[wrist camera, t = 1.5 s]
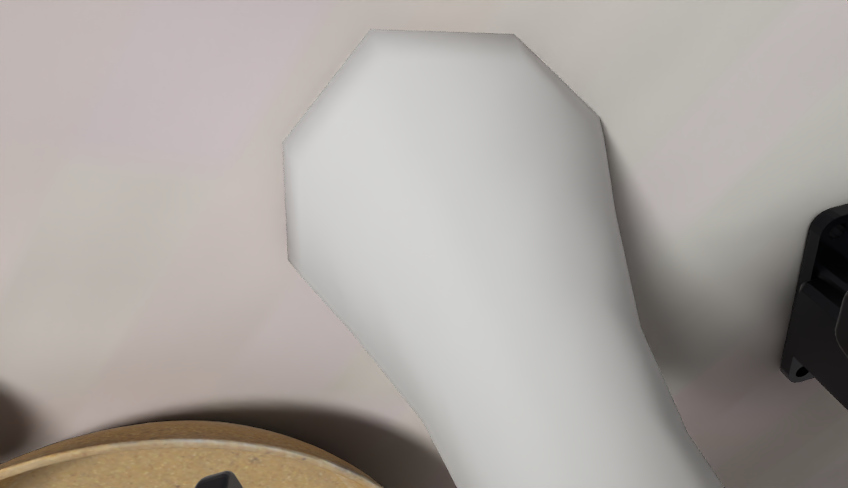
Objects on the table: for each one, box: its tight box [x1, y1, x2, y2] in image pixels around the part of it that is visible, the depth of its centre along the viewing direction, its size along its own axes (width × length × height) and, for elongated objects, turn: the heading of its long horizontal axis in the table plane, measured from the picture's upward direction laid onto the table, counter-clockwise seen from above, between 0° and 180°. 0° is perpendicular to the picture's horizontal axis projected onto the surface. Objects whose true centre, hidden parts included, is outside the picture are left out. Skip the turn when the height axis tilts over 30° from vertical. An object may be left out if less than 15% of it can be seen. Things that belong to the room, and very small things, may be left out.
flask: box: [282, 29, 724, 488], centre depth 10 cm, size 7×7×10 cm
